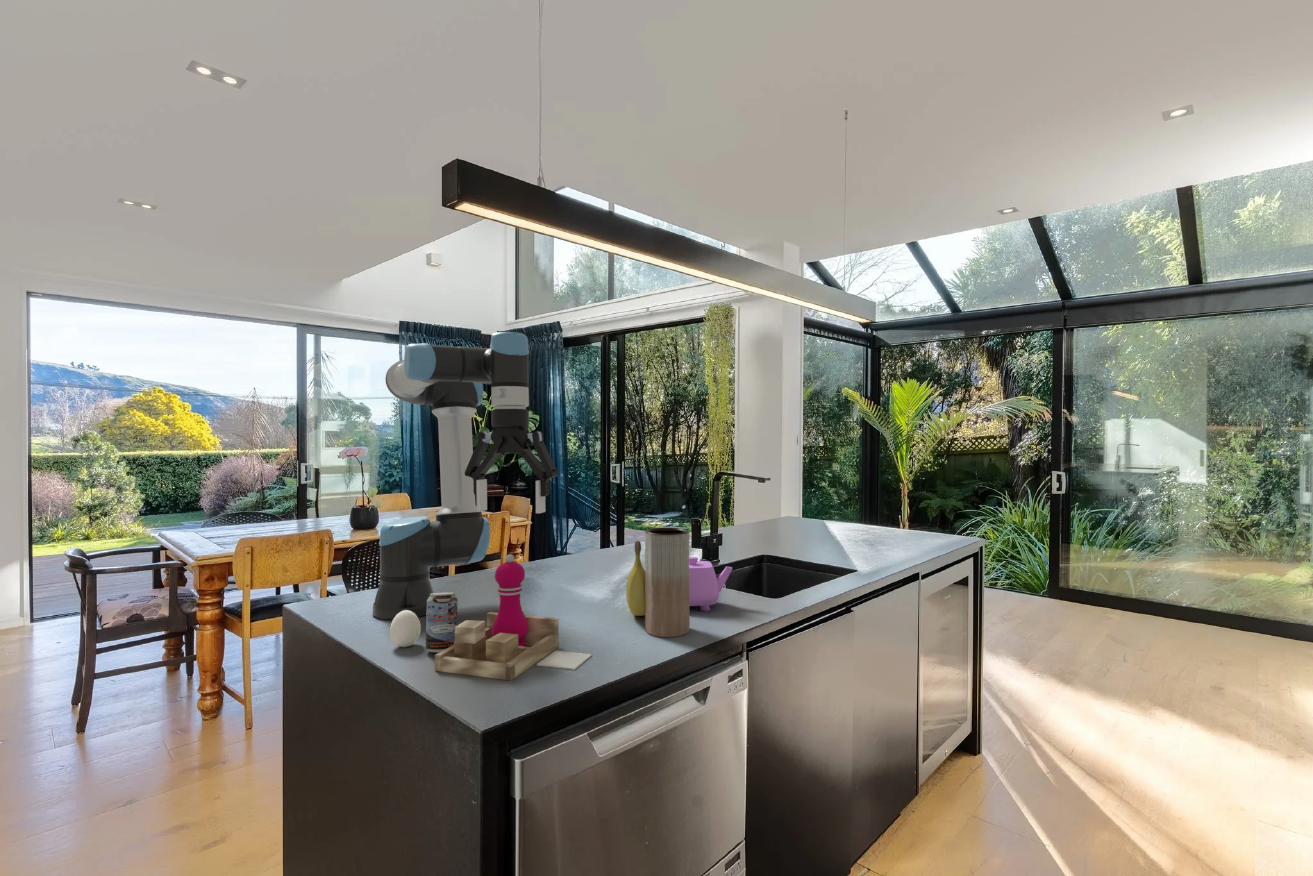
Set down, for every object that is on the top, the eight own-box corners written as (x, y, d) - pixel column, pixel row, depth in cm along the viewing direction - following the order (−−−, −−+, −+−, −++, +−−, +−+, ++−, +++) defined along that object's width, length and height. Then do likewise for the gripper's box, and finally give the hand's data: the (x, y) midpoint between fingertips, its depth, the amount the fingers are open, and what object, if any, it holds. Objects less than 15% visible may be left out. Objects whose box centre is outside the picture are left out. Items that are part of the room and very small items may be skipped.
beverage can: (424, 658, 127) (424, 598, 127) (426, 646, 134) (426, 589, 134) (457, 654, 129) (456, 595, 128) (458, 643, 136) (457, 587, 136)
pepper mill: (532, 646, 134) (532, 551, 133) (522, 658, 126) (521, 558, 126) (499, 645, 134) (498, 551, 134) (486, 657, 127) (486, 557, 127)
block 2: (454, 668, 121) (453, 642, 121) (469, 659, 126) (469, 634, 126) (472, 670, 120) (472, 644, 120) (486, 661, 125) (486, 636, 125)
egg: (387, 644, 135) (387, 609, 135) (417, 639, 138) (417, 605, 138) (392, 653, 130) (392, 616, 130) (423, 647, 133) (423, 611, 133)
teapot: (655, 613, 158) (655, 562, 158) (655, 600, 170) (654, 552, 170) (735, 612, 158) (735, 561, 158) (729, 599, 170) (729, 552, 170)
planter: (672, 640, 137) (672, 535, 136) (636, 632, 143) (635, 531, 142) (698, 629, 145) (697, 529, 144) (662, 621, 151) (662, 526, 150)
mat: (536, 665, 122) (536, 664, 122) (555, 651, 130) (555, 650, 130) (574, 670, 120) (574, 668, 120) (591, 655, 128) (591, 654, 128)
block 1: (455, 642, 121) (455, 627, 121) (466, 635, 125) (466, 620, 125) (474, 643, 120) (474, 628, 120) (485, 636, 125) (485, 621, 125)
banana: (631, 602, 168) (631, 527, 167) (653, 602, 167) (653, 527, 167) (624, 629, 145) (624, 541, 145) (650, 629, 145) (649, 541, 145)
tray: (434, 670, 120) (434, 639, 120) (490, 639, 138) (490, 612, 138) (511, 680, 115) (511, 647, 115) (558, 646, 133) (558, 618, 133)
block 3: (486, 672, 119) (485, 640, 119) (500, 663, 124) (500, 632, 124) (504, 674, 118) (504, 642, 118) (518, 665, 123) (518, 634, 123)
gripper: (446, 408, 130) (447, 512, 130) (557, 406, 123) (557, 515, 123) (468, 410, 138) (468, 508, 138) (573, 408, 130) (574, 511, 130)
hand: (510, 511), depth 130 cm, fingers open, 13 cm apart
